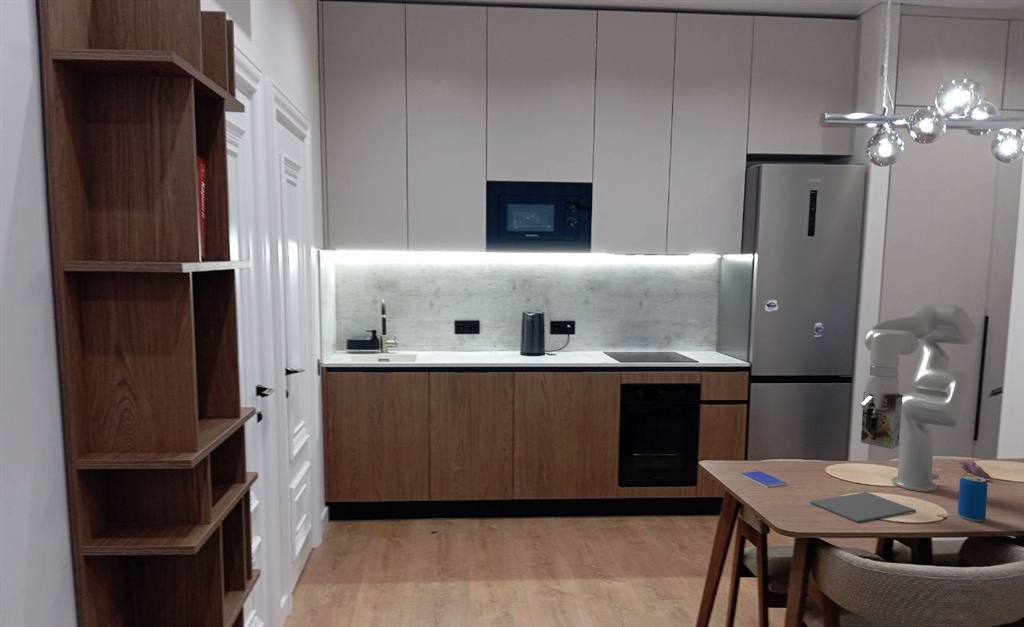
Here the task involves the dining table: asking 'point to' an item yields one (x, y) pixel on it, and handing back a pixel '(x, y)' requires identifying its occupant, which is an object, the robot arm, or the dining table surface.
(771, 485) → the hard drive
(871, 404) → the coffee box
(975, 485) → the beverage can
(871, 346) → the robot arm
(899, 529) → the dining table surface
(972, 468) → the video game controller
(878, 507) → the gray mat
